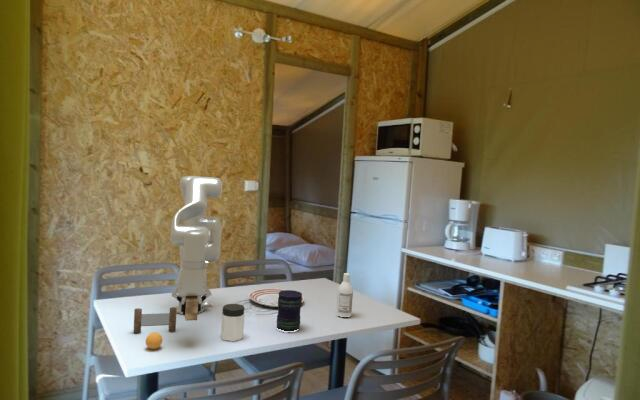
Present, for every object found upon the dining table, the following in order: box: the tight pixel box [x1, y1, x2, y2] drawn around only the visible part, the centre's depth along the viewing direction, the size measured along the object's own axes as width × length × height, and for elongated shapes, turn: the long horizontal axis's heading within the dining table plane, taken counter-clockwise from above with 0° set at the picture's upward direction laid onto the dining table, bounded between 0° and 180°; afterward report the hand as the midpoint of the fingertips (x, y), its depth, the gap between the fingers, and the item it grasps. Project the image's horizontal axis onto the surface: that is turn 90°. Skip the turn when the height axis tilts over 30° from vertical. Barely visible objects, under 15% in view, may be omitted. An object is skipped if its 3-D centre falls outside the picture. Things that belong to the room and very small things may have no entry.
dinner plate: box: [248, 288, 305, 308], centre depth 219 cm, size 27×27×3 cm
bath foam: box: [335, 272, 354, 316], centre depth 204 cm, size 7×7×20 cm
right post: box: [168, 306, 178, 333], centre depth 171 cm, size 3×3×9 cm
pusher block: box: [184, 296, 198, 322], centre depth 160 cm, size 4×10×7 cm, turn 19°
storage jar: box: [276, 289, 303, 331], centre depth 182 cm, size 10×10×15 cm
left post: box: [133, 307, 143, 335], centre depth 167 cm, size 3×3×9 cm
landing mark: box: [141, 312, 170, 327], centre depth 182 cm, size 14×14×1 cm
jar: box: [220, 303, 245, 342], centre depth 169 cm, size 9×8×12 cm
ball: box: [145, 332, 163, 350], centre depth 154 cm, size 6×6×6 cm
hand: (190, 313), depth 160 cm, fingers closed on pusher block, 4 cm apart
